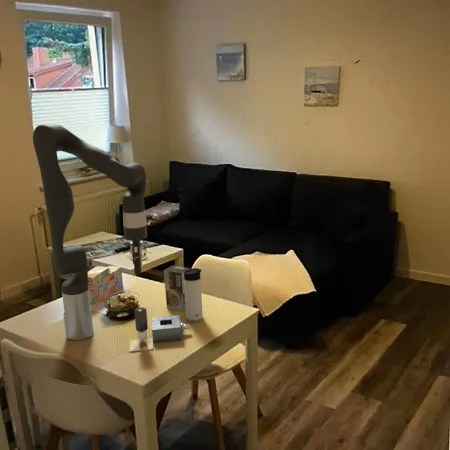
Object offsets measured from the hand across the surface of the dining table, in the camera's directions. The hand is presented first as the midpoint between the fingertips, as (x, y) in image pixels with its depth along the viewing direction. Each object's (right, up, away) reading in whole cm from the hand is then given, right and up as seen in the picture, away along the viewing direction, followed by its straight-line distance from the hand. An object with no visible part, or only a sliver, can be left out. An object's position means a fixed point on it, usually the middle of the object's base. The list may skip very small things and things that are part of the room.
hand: (138, 269), depth 181 cm
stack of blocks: (-23, -15, +48) cm, 55 cm away
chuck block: (+10, -24, +9) cm, 28 cm away
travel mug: (+18, -21, +21) cm, 35 cm away
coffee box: (+11, -18, +33) cm, 39 cm away
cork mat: (+1, -26, +2) cm, 26 cm away
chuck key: (+1, -26, +2) cm, 26 cm away
